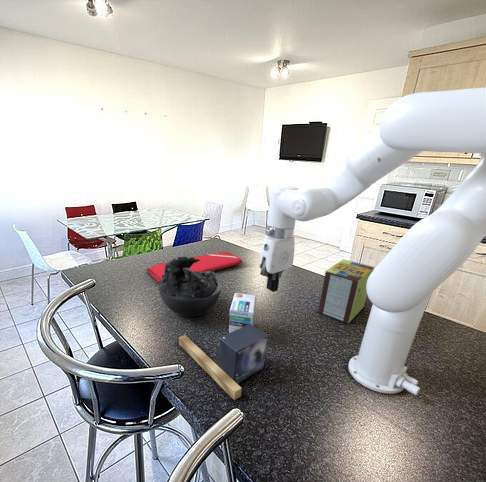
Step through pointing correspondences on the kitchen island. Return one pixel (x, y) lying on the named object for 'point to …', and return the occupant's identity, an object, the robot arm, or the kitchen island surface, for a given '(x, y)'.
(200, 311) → the coal bowl
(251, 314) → the light bulb box
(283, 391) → the kitchen island surface
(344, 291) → the protein box
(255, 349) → the small box
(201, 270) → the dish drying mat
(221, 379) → the maple rail
